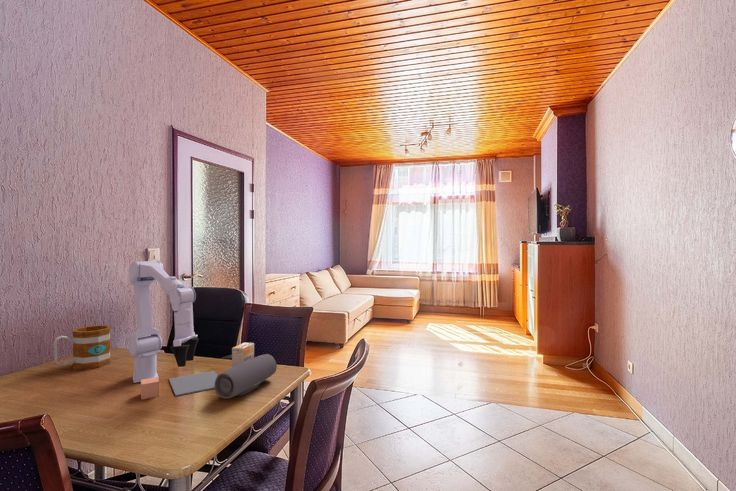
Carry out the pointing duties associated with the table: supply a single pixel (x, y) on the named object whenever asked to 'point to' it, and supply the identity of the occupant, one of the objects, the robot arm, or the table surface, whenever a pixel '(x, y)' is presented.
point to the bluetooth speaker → (245, 376)
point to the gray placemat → (193, 383)
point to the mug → (88, 347)
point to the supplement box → (242, 353)
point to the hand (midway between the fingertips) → (185, 363)
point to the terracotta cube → (149, 388)
